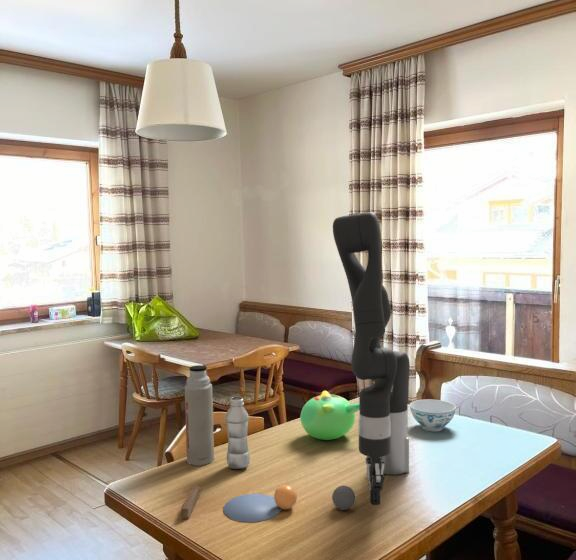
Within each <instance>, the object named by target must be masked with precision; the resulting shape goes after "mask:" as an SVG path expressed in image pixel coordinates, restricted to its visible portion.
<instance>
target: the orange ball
mask: <svg viewBox="0 0 576 560" xmlns="http://www.w3.org/2000/svg"><path fill="white" fill-rule="evenodd" d="M273 494H274V495H273V497H274V501H275V503H276V505H277V506H278V507H279V508H281V510H290V509H291V508H293V507H294V506H295V505H296V503H297V499H298V497H297V492H296V490H295V488H293V486H291V485H289V484H288V485H287V484H282V485H280V486H279V487H277V488H276V489H275V491H274V493H273Z"/></svg>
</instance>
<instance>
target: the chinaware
mask: <svg viewBox="0 0 576 560" xmlns="http://www.w3.org/2000/svg"><path fill="white" fill-rule="evenodd" d="M409 409H410V411H411V412H410V413H411V415H412V417H413V419H414V420H415V421H416V423H418V424H419V425H421V427H422V429H423V430H424V431H428V432H440V431H443V429H444V427H446V426H447V425H448V424H450V422H451V421H452V420H453V418H454V416H455V413H456V409H457V407H456V405H455V404H454V403H452V402H449V401H446V400H440V399H429V398H427V399H417V400H413V401H412V402H410V404H409Z"/></svg>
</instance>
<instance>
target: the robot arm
mask: <svg viewBox="0 0 576 560" xmlns="http://www.w3.org/2000/svg"><path fill="white" fill-rule="evenodd" d="M332 234H333V240H334V243H335V246H336V249H337V252H338V256H339V258H340V260H341V264H342V267H343V270H344V273H345V276H346V280H347V283H348V284H347V285H348V287H349V293H350V297H351V302H352V311H353V312H352V313H353V319H354V328H355V330H354V332H355V333H354V342H353V347H352V348H353V349H352V354H351V361H350V362H351V363H350V364H351V370H352V373H353V374H354V377H356V378H357V379H359V380H363V381H365V380H371V381H372V382H374V383H372V384H371V385H370V386H367V387H364V388H363V389H360V392H359V399H358V401H359V410H358V411H359V414H358V415H359V417H358V452H359V453H360V454H361V455H363V456H366V457H365V466H366V476H367V480H368V486H369V501H370V505H371V506H379V505H380V504H381V491H383V486H384V481H385V476H384V475H390V476H391V475H392V476H393V475H401V474H405V473H410V439H409V436H408V434H409V432H408V427H409V426H408V425H409V424H408V421H409V420H408V419H409V417H408V414H409V413H408V407H409V404H408V403H409V392H410V390H409V386H410V372H411V371H410V370H411V369H410V368H411V367H410V366H411V365H410V358H409V356H408V354H407V353H406V352H403V351H396V350H395V351H394V350H392V349H391V348H390V347H382V346H381V343H380V339H381V337H382V336H384V335H385V334H386V328H387V326H388V323H389V321H390V319H391V315H392V309H391V304H390V300H389V295H388V292H387V289H386V287H385V286H384V285H383V283H382V279H383V277H382V276H383V274H382V273H383V265H382V264H383V260H382V256H383V254H382V252H383V251H382V250H383V249H382V248H383V247H382V231H381V225H380V221H379V218H378V216H377V214H376V213H375V212H374V211H373V212H372V211H366V212H360V213H356V214H355V213H354V214H348V215H343V216H338V217H336V218H335V219H334V220H333V222H332ZM366 251H367V253H368V255H367V256H368V257H367V265H366V268H365V267H364V266H363V265H362V263H361V262H360V260H359V259H358V257H357V255H356V253H361V252H363V253H364V252H366Z"/></svg>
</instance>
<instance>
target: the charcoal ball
mask: <svg viewBox="0 0 576 560" xmlns="http://www.w3.org/2000/svg"><path fill="white" fill-rule="evenodd" d="M331 499H332V502H333V505H334V506H335V507H336V508H337V509H338V510H342V511H347V510H350V509H351V508H352V507H353V506H354V505H355V503H356V495H355V491H354V490H353V489H352V488H351V487H350V486H348V485H340V486H339V485H338V487H336V488H335V489H334V491H333V493H332V497H331Z"/></svg>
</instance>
